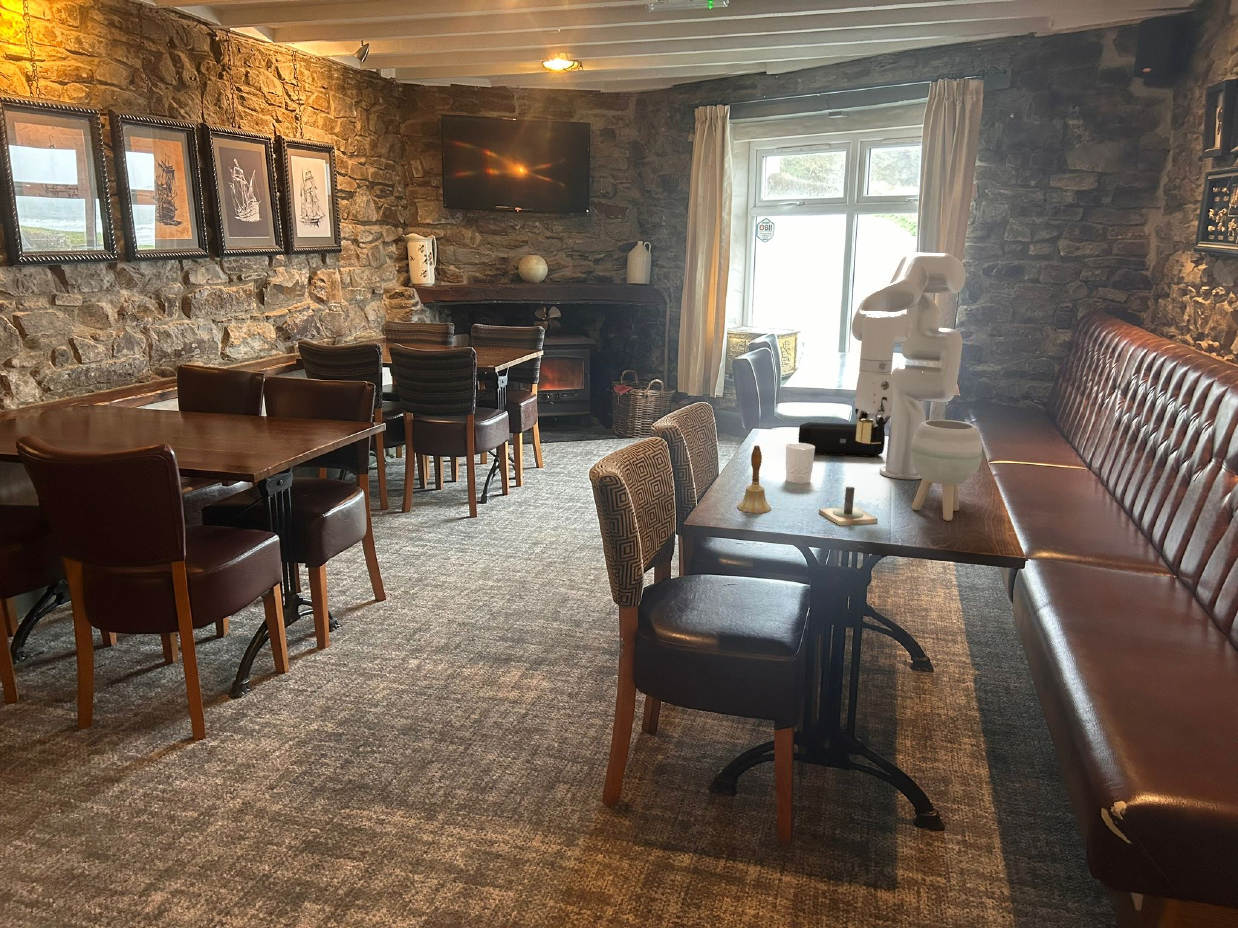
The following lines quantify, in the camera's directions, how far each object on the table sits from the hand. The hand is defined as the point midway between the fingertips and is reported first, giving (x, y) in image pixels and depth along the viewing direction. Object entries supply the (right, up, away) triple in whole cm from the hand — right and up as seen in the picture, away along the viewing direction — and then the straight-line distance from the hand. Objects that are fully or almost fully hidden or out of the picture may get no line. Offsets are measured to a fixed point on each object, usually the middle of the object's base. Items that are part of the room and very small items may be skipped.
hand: (869, 438), depth 210 cm
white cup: (-12, -11, +28) cm, 32 cm away
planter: (+17, -19, -1) cm, 25 cm away
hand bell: (-28, -18, +1) cm, 33 cm away
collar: (0, -1, 0) cm, 1 cm away
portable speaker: (+8, -4, +60) cm, 61 cm away
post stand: (-7, -19, -5) cm, 21 cm away
